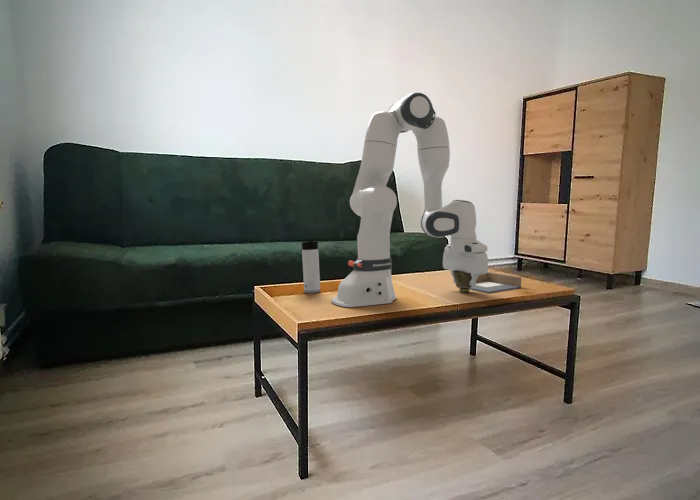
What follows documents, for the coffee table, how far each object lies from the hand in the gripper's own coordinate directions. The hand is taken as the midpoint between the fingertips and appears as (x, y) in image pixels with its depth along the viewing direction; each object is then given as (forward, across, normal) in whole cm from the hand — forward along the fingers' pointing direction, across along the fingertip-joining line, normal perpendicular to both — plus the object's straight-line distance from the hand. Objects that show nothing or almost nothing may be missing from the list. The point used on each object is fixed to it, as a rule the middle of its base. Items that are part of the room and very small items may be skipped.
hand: (464, 284), depth 163 cm
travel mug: (+3, -36, -44) cm, 57 cm away
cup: (+3, 0, 0) cm, 3 cm away
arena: (+3, -2, +13) cm, 13 cm away
